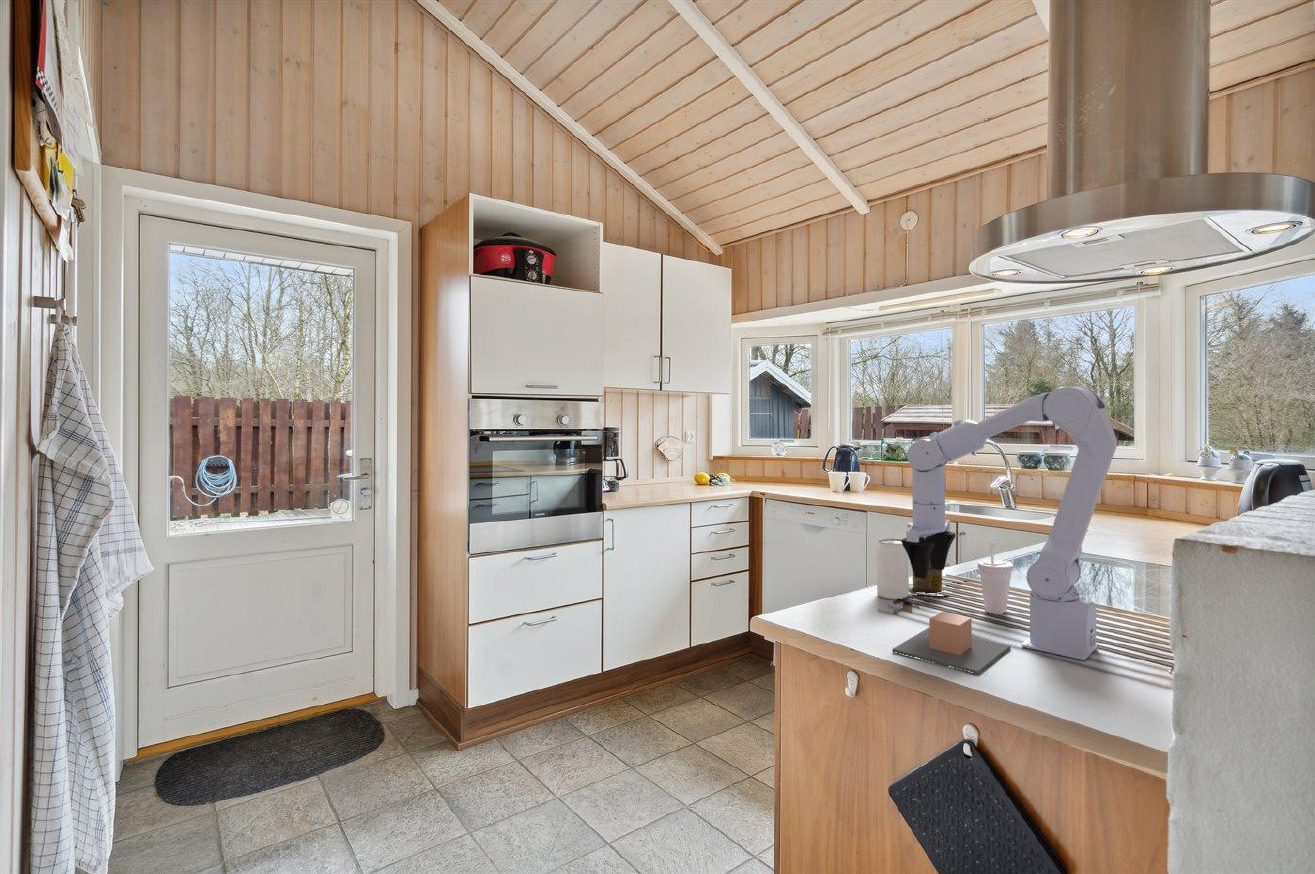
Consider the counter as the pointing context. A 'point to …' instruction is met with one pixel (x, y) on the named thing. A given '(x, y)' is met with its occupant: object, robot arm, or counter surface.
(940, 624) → the cube
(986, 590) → the smoothie
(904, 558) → the can
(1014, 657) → the counter surface
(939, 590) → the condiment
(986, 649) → the mat
